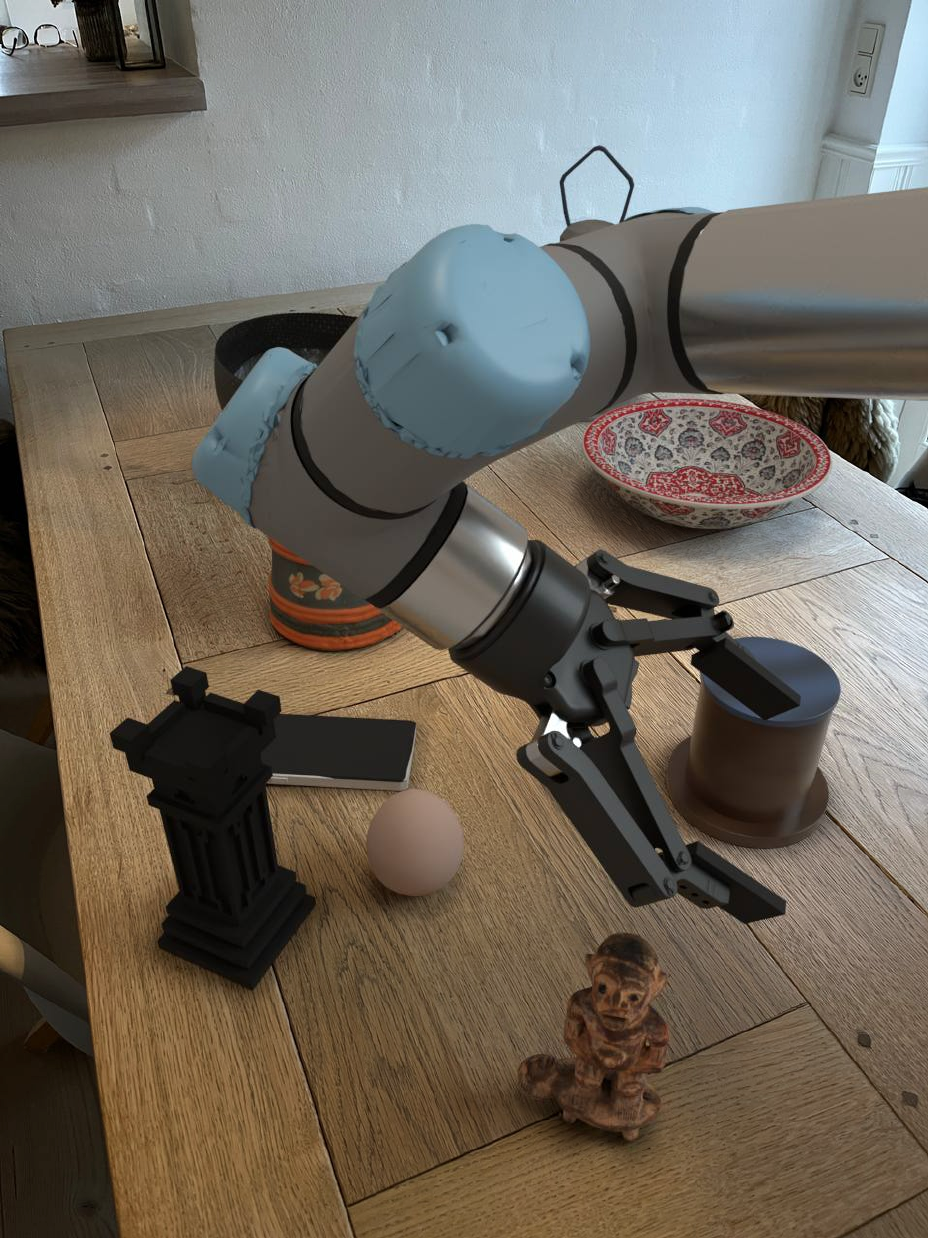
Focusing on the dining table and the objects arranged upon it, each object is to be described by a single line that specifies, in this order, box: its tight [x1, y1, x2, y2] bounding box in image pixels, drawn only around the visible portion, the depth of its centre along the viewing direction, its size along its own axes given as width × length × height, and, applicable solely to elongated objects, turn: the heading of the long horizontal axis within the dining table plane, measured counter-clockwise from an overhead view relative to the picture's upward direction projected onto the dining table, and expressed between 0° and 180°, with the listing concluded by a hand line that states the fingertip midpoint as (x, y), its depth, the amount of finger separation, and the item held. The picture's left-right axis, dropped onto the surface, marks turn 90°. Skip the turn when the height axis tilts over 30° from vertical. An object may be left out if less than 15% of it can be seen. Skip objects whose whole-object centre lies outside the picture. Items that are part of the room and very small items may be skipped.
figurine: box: [516, 931, 672, 1142], centre depth 57 cm, size 7×7×15 cm
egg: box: [365, 788, 465, 897], centre depth 73 cm, size 7×7×8 cm
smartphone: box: [261, 713, 417, 792], centre depth 87 cm, size 8×1×15 cm
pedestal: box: [665, 636, 842, 849], centre depth 80 cm, size 13×13×12 cm
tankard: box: [267, 536, 403, 652], centre depth 101 cm, size 19×15×20 cm
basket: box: [213, 312, 359, 412], centre depth 129 cm, size 28×35×16 cm
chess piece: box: [108, 665, 317, 991], centre depth 67 cm, size 8×8×20 cm
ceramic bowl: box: [581, 398, 833, 530], centre depth 121 cm, size 29×29×8 cm
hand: (775, 803), depth 57 cm, fingers open, 13 cm apart
